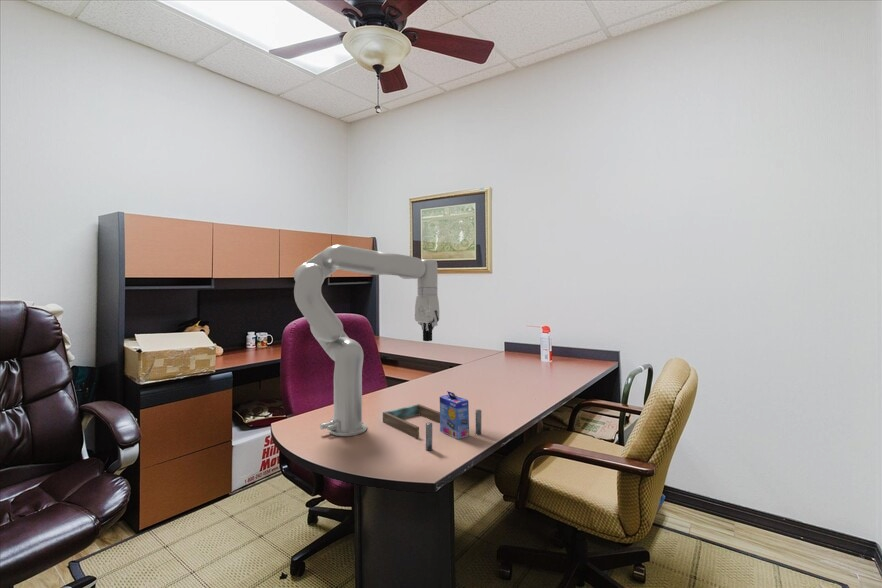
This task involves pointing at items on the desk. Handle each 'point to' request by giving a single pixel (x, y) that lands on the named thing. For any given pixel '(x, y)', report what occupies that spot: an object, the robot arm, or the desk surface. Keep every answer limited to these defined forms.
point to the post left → (428, 436)
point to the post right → (478, 422)
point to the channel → (396, 416)
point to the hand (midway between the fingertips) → (427, 340)
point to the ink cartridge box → (454, 416)
